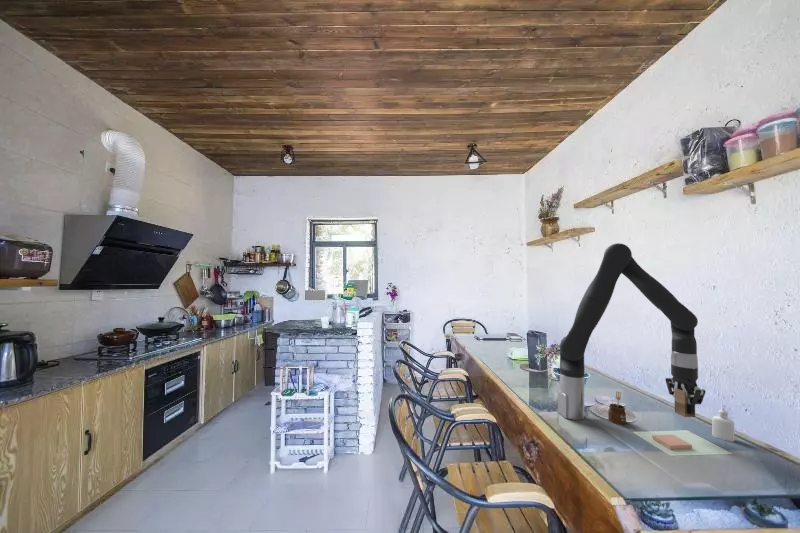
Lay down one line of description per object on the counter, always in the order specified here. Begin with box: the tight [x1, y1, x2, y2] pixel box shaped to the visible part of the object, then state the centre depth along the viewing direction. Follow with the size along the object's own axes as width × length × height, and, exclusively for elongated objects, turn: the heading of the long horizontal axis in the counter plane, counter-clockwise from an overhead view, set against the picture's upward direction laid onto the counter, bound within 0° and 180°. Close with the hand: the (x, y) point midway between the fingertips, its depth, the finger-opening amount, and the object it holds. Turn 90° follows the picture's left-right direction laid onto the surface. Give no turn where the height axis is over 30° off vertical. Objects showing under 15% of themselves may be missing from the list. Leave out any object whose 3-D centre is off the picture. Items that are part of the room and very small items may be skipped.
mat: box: [632, 429, 733, 457], centre depth 116 cm, size 22×16×1 cm
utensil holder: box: [607, 390, 627, 425], centre depth 132 cm, size 6×6×12 cm
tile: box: [652, 435, 692, 449], centre depth 114 cm, size 1×7×8 cm
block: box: [674, 388, 696, 418], centre depth 120 cm, size 4×4×9 cm
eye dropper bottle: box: [711, 406, 735, 443], centre depth 119 cm, size 4×6×12 cm
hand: (684, 411), depth 120 cm, fingers closed on block, 4 cm apart
